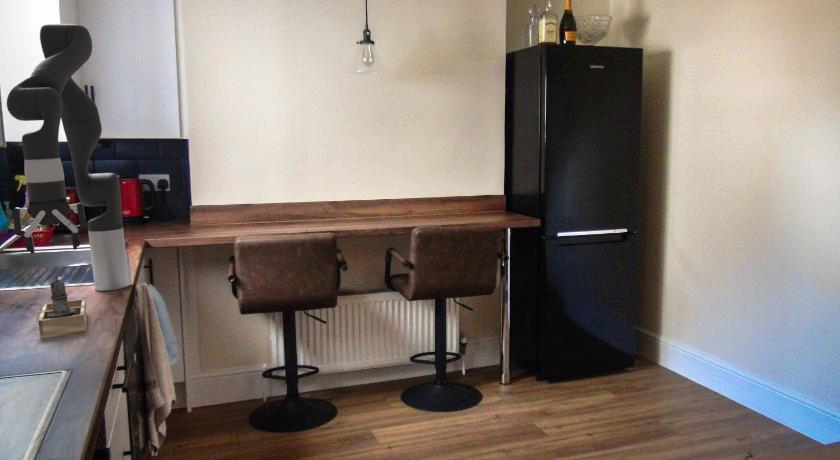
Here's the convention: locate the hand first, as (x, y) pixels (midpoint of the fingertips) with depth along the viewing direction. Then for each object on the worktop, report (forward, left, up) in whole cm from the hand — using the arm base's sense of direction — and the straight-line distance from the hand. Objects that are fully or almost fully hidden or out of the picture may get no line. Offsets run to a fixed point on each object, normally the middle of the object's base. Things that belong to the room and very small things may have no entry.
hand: (54, 251), depth 154 cm
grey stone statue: (0, 0, -18) cm, 18 cm away
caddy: (-3, -3, -19) cm, 19 cm away
